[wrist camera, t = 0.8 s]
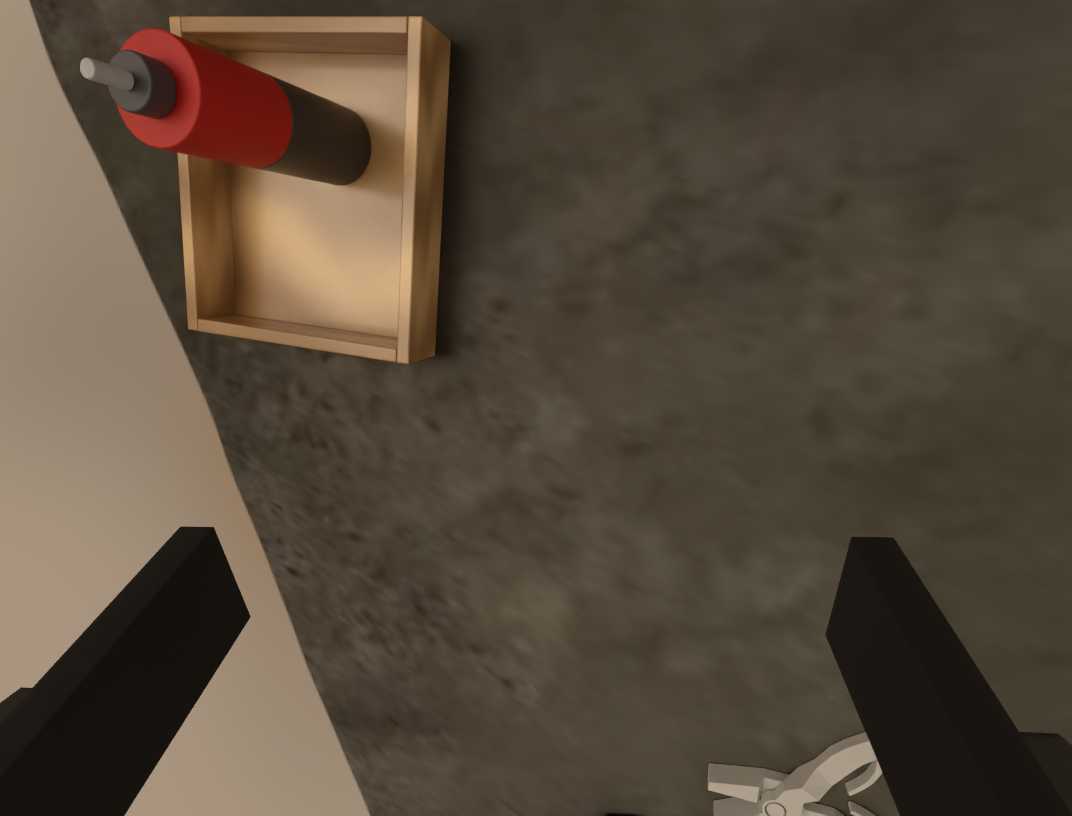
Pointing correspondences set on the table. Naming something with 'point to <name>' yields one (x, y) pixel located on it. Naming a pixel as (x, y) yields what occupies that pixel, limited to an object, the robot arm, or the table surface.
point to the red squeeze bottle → (229, 111)
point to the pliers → (795, 783)
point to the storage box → (326, 194)
